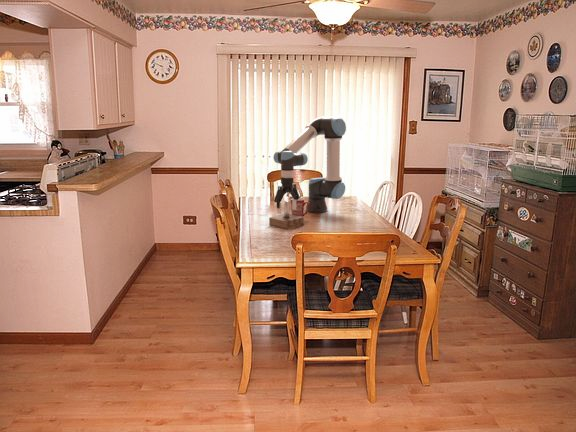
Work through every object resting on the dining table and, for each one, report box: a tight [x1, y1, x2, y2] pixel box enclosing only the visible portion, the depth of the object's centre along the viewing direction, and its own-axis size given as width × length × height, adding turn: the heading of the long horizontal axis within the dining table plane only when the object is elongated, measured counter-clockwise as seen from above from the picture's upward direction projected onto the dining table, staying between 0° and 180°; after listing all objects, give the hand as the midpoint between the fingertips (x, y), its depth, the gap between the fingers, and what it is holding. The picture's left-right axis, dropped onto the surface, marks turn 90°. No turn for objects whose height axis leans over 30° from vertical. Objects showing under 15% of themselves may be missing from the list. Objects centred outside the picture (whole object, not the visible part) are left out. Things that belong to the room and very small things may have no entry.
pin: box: [283, 200, 291, 218], centre depth 290 cm, size 3×3×14 cm
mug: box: [290, 197, 310, 218], centre depth 305 cm, size 13×9×14 cm
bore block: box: [268, 213, 305, 230], centre depth 291 cm, size 16×14×5 cm
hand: (286, 211), depth 290 cm, fingers open, 13 cm apart
